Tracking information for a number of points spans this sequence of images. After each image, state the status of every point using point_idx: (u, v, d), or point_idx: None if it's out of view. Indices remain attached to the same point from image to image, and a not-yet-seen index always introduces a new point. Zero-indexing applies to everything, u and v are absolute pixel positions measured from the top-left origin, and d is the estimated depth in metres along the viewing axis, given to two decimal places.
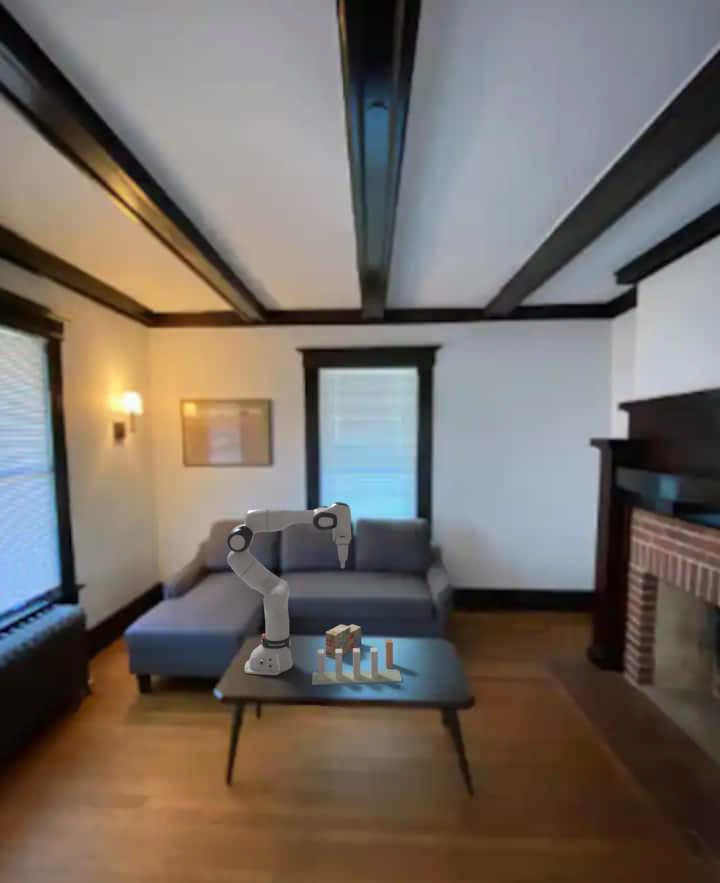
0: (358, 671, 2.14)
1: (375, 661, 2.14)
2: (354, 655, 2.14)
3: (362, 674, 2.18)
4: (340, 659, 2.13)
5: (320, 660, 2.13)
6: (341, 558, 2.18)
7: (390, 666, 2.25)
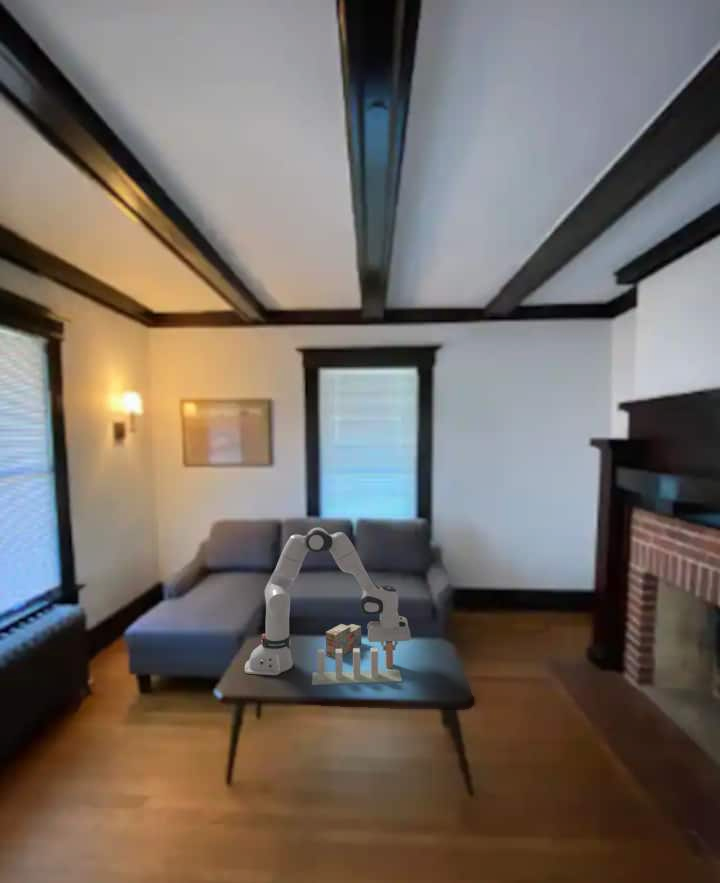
0: (358, 671, 2.14)
1: (375, 661, 2.14)
2: (354, 655, 2.14)
3: (362, 674, 2.18)
4: (340, 659, 2.13)
5: (320, 660, 2.13)
6: None
7: (390, 666, 2.25)
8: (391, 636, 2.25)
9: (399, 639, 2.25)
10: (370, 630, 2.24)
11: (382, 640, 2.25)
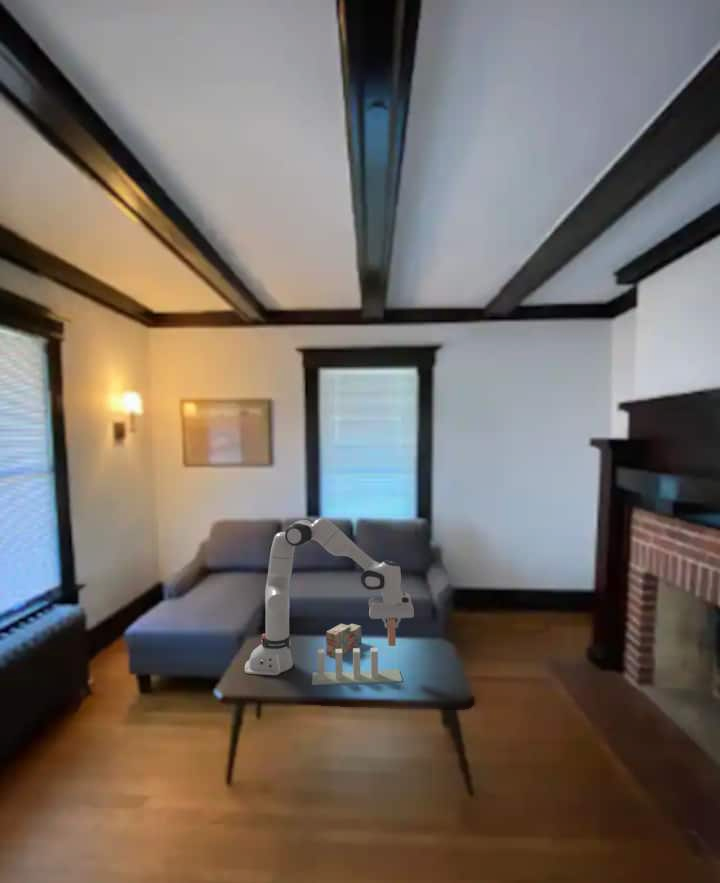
0: (358, 671, 2.14)
1: (375, 661, 2.14)
2: (354, 655, 2.14)
3: (362, 674, 2.18)
4: (340, 659, 2.13)
5: (320, 660, 2.13)
6: (413, 614, 2.16)
7: (392, 644, 2.14)
8: (394, 613, 2.14)
9: (402, 616, 2.15)
10: (372, 606, 2.14)
11: (384, 617, 2.14)
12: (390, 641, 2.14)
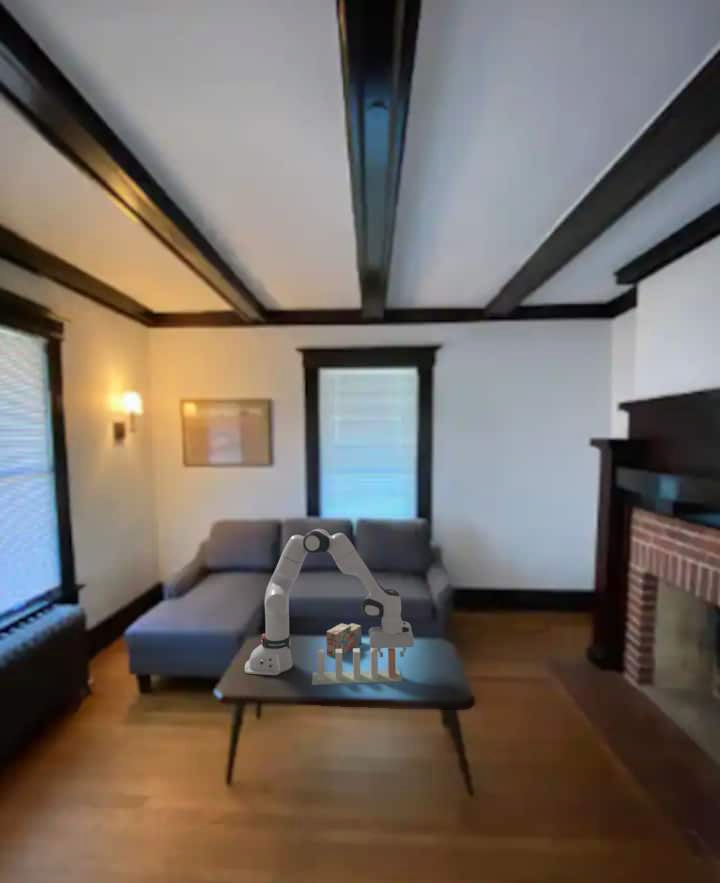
0: (358, 671, 2.14)
1: (375, 661, 2.14)
2: (354, 655, 2.14)
3: (362, 674, 2.18)
4: (340, 659, 2.13)
5: (320, 660, 2.13)
6: (413, 643, 2.16)
7: (392, 675, 2.15)
8: (394, 642, 2.15)
9: (402, 645, 2.15)
10: (372, 636, 2.14)
11: (384, 646, 2.15)
12: (390, 673, 2.15)
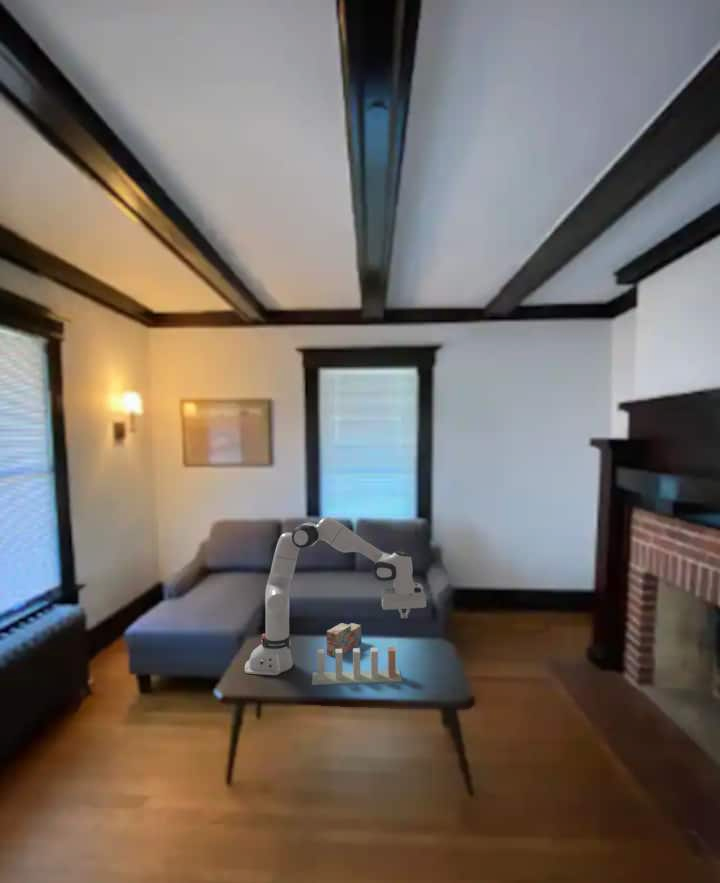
0: (358, 671, 2.14)
1: (375, 661, 2.14)
2: (354, 655, 2.14)
3: (362, 674, 2.18)
4: (340, 659, 2.13)
5: (320, 660, 2.13)
6: None
7: (392, 675, 2.15)
8: (406, 603, 2.15)
9: (415, 606, 2.15)
10: (384, 597, 2.14)
11: (397, 607, 2.15)
12: (390, 673, 2.15)
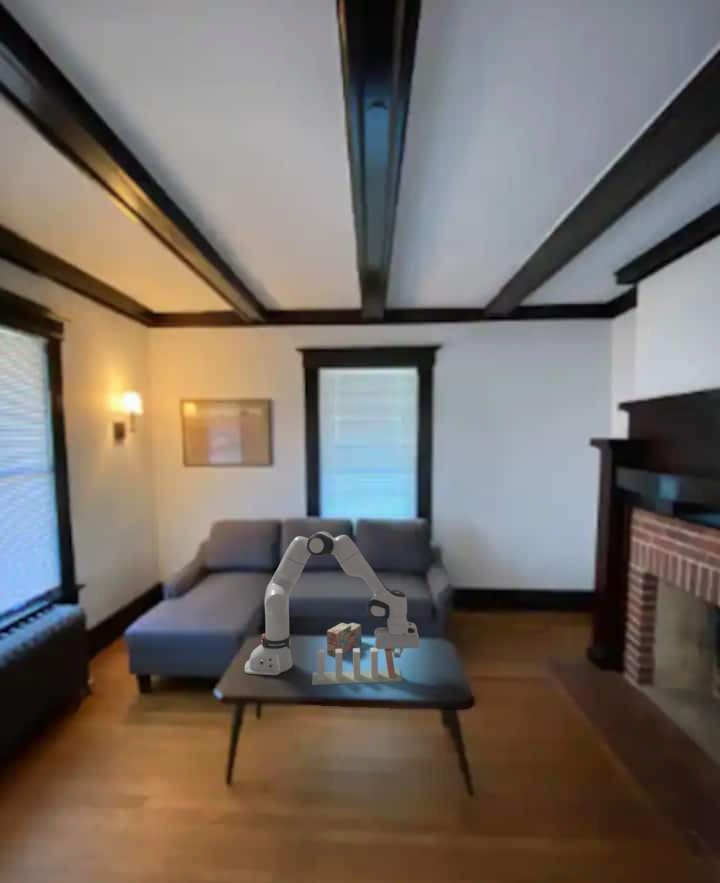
0: (358, 671, 2.14)
1: (375, 661, 2.14)
2: (354, 655, 2.14)
3: (362, 674, 2.18)
4: (340, 659, 2.13)
5: (320, 660, 2.13)
6: None
7: (392, 675, 2.15)
8: (400, 643, 2.15)
9: (408, 646, 2.15)
10: (377, 636, 2.14)
11: (390, 647, 2.15)
12: (389, 672, 2.15)
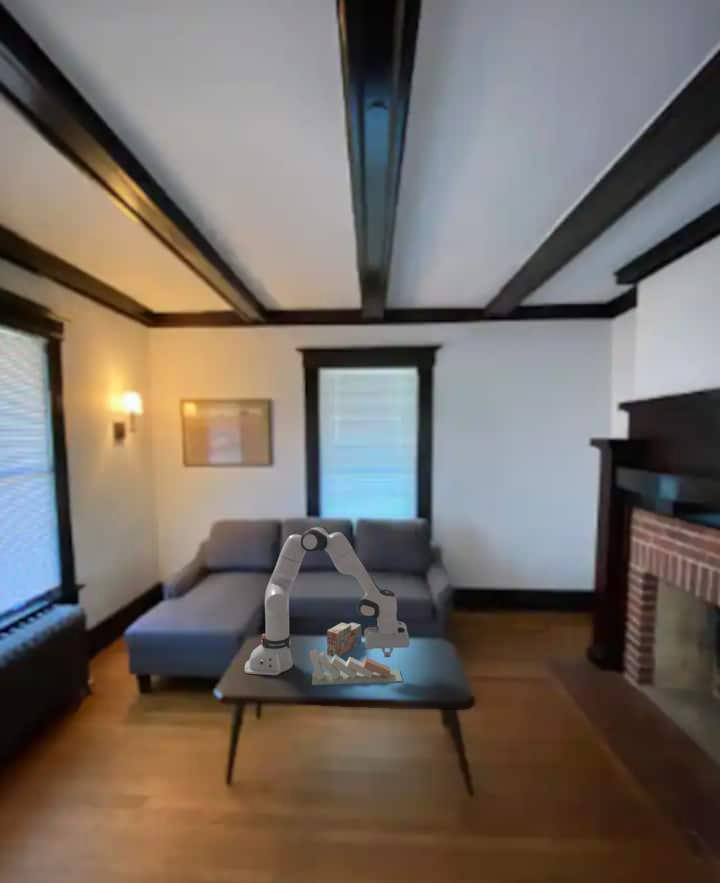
0: (349, 670, 2.14)
1: (357, 666, 2.14)
2: (334, 664, 2.13)
3: (362, 674, 2.18)
4: (326, 661, 2.13)
5: (314, 661, 2.13)
6: None
7: (387, 673, 2.15)
8: (390, 643, 2.15)
9: (398, 646, 2.15)
10: (367, 636, 2.14)
11: (380, 647, 2.14)
12: (384, 674, 2.15)
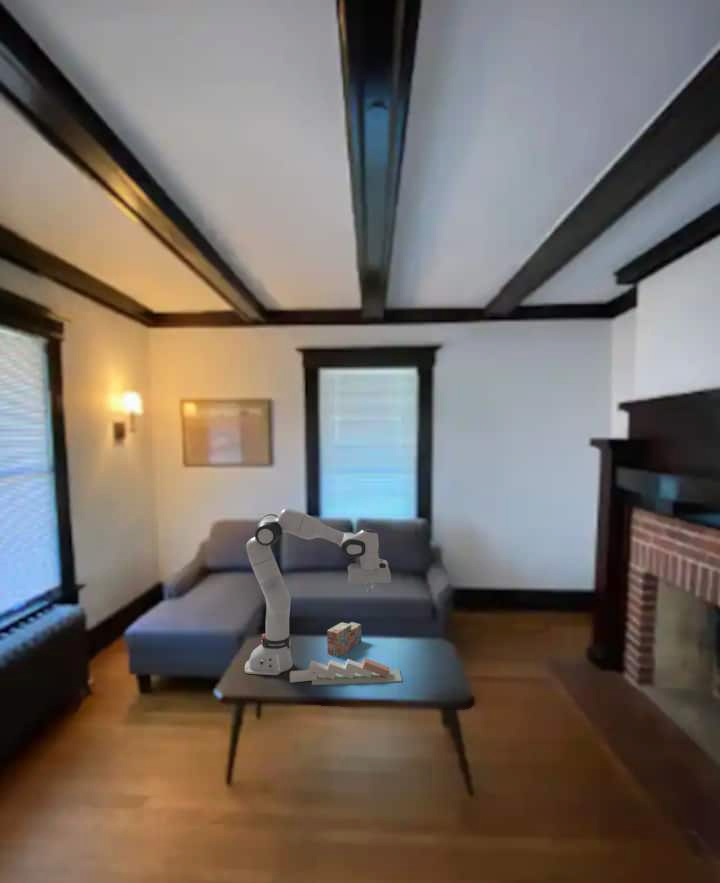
0: (347, 671, 2.14)
1: (356, 668, 2.14)
2: (330, 669, 2.13)
3: None
4: (316, 668, 2.13)
5: (297, 679, 2.12)
6: (390, 579, 2.26)
7: (387, 673, 2.15)
8: (372, 578, 2.25)
9: (379, 581, 2.25)
10: (350, 572, 2.24)
11: (362, 582, 2.24)
12: (383, 674, 2.15)
